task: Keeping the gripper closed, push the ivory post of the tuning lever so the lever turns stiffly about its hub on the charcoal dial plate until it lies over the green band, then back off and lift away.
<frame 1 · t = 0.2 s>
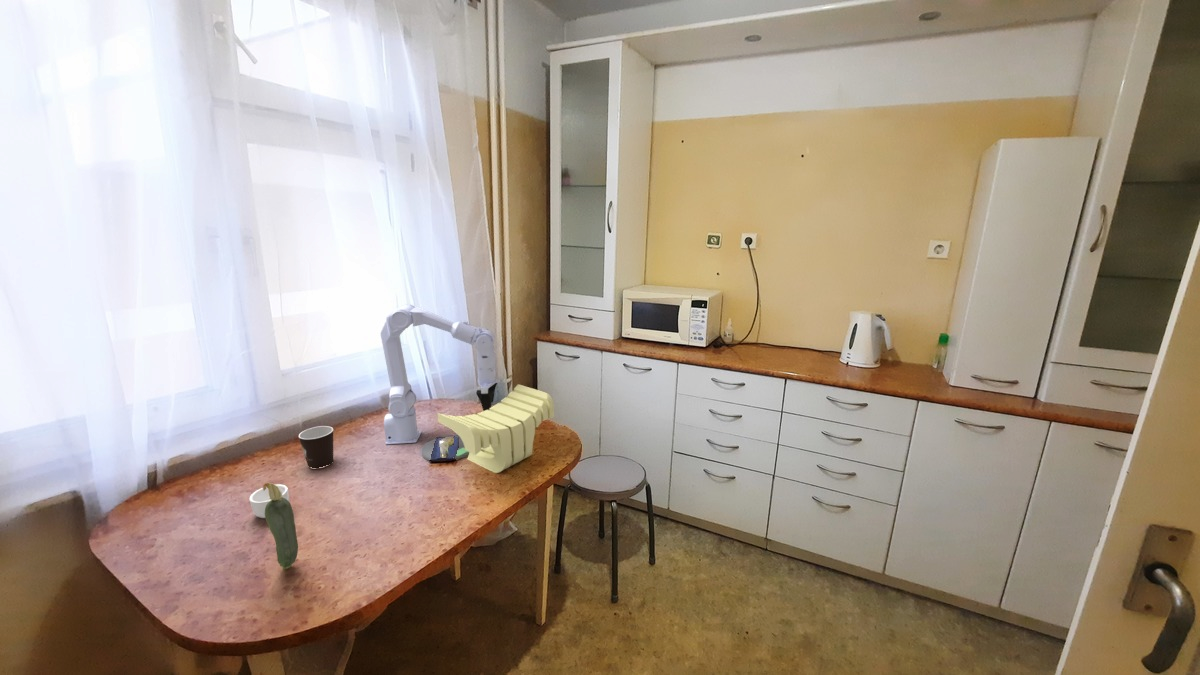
hand: (488, 406, 151), 10 cm above the table, tool pointing down, fingers open, 7 cm apart
slatted curved stool: (501, 459, 138), on the table
coffee mug: (322, 461, 136), on the table
dial plate: (448, 449, 143), on the table
teacup: (271, 511, 112), on the table
vegetable: (289, 570, 94), on the table
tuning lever: (446, 442, 139), point 4 cm above the table, hinge at 0.0°
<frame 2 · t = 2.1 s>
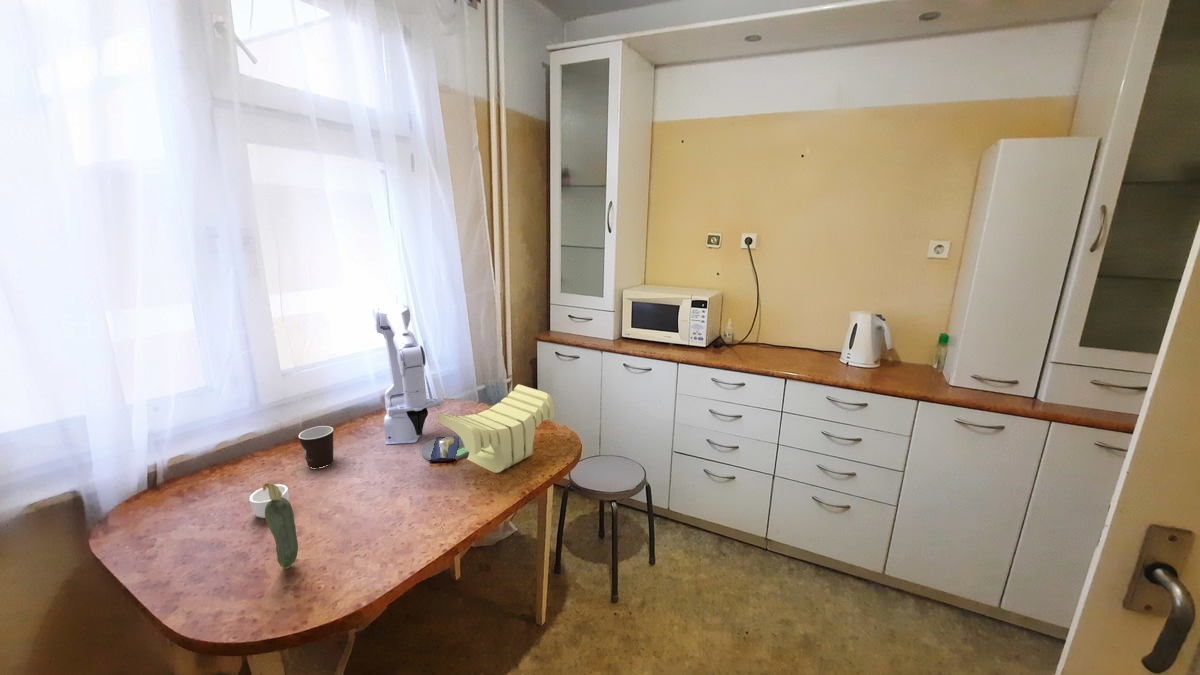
hand: (418, 433, 131), 10 cm above the table, tool pointing down, fingers closed
nothing on the table moved.
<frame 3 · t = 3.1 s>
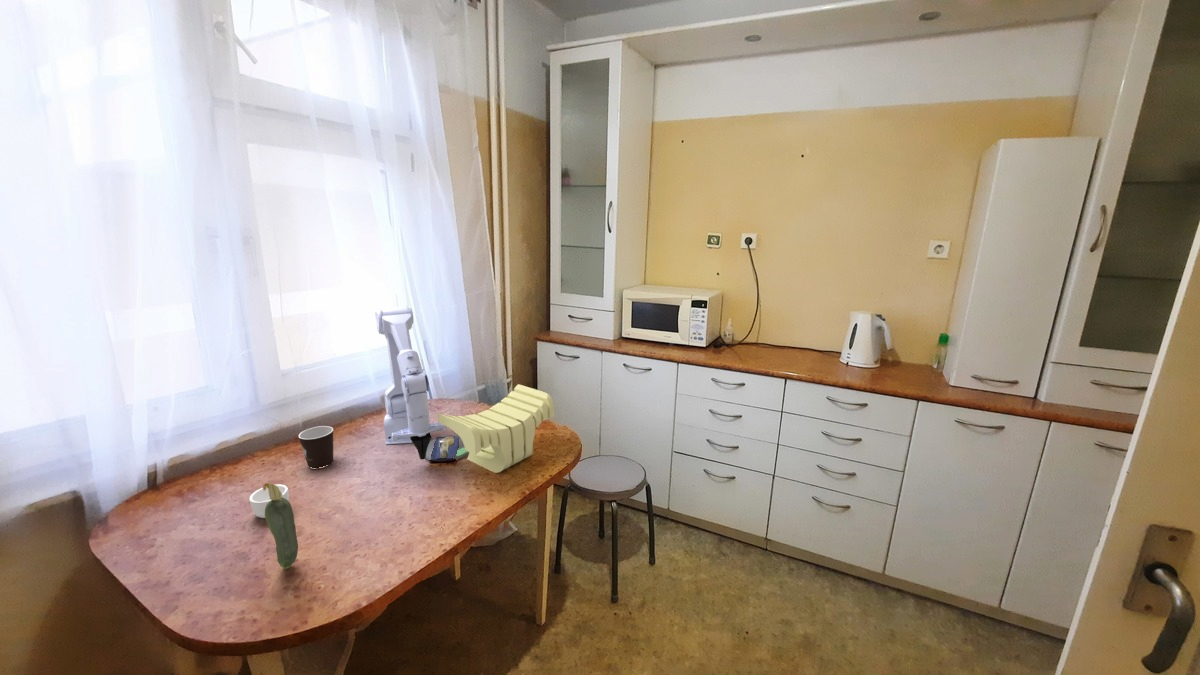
hand: (422, 457, 133), 3 cm above the table, tool pointing down, fingers closed
nothing on the table moved.
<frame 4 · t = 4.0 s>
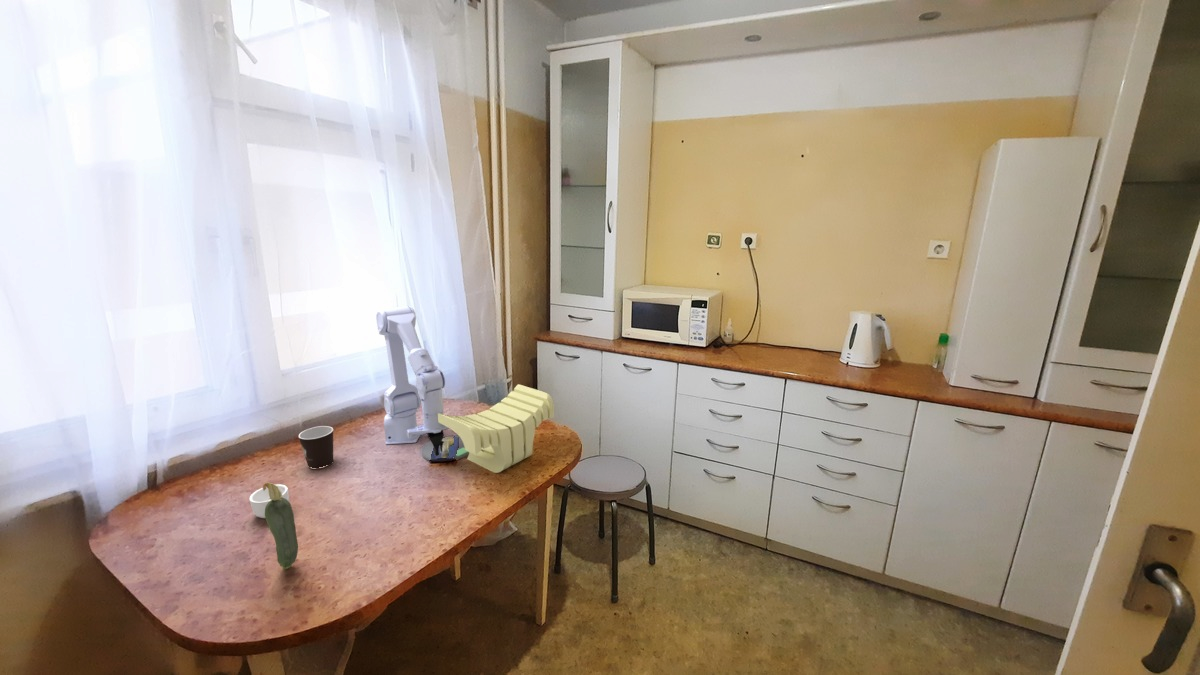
hand: (436, 454, 135), 3 cm above the table, tool pointing down, fingers closed, pressing on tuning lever
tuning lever: (446, 442, 139), point 4 cm above the table, hinge at 1.0°, touching gripper
everything else where it was.
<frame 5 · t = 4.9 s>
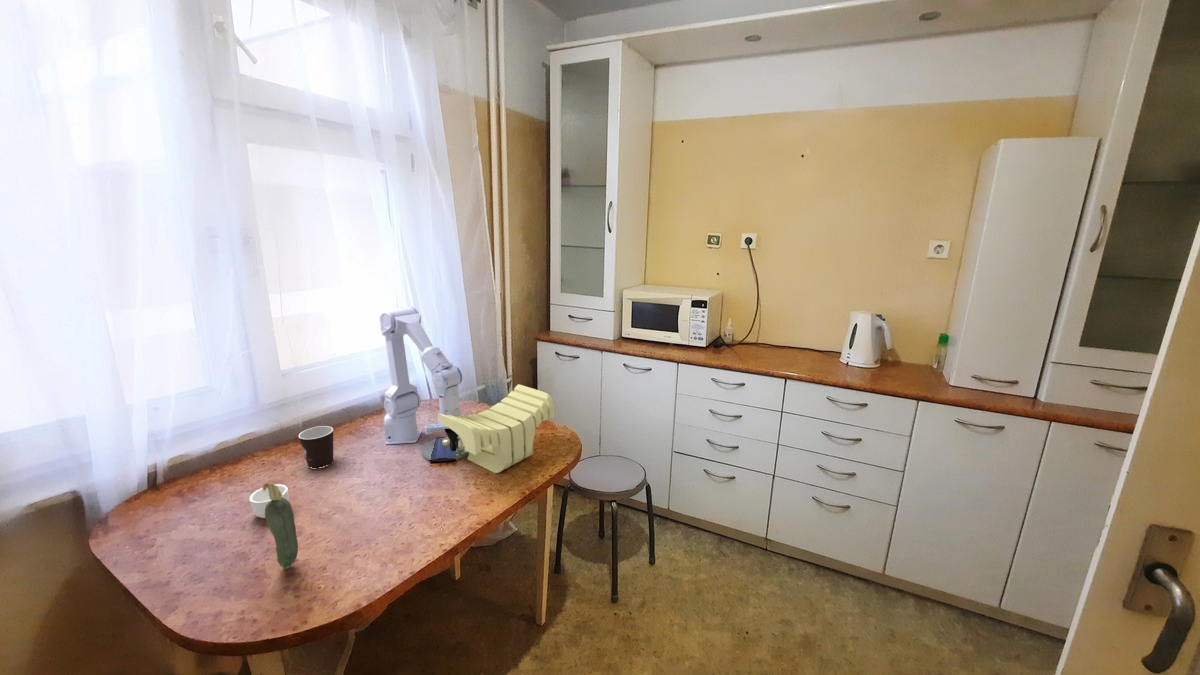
hand: (453, 450, 137), 3 cm above the table, tool pointing down, fingers closed
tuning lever: (453, 441, 140), point 4 cm above the table, hinge at 39.4°, touching gripper
everything else where it was.
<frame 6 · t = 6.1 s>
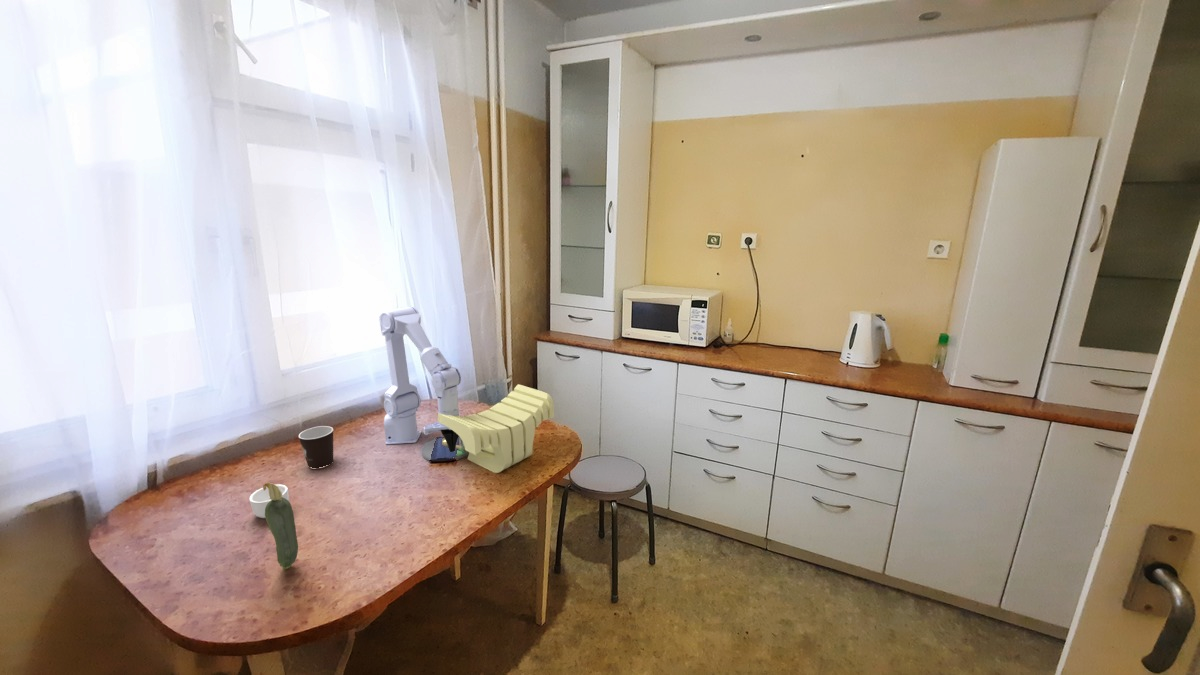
hand: (451, 450, 137), 3 cm above the table, tool pointing down, fingers closed
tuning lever: (455, 440, 141), point 4 cm above the table, hinge at 53.1°
everything else where it was.
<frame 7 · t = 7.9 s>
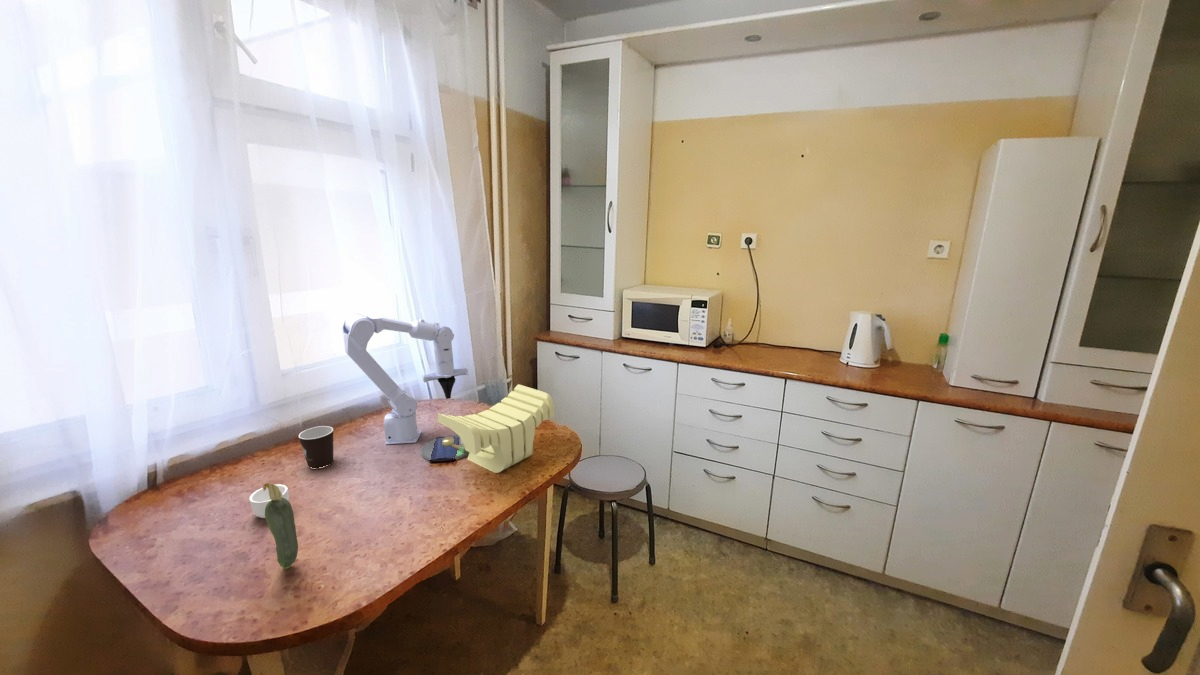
hand: (447, 397, 157), 10 cm above the table, tool pointing down, fingers closed
nothing on the table moved.
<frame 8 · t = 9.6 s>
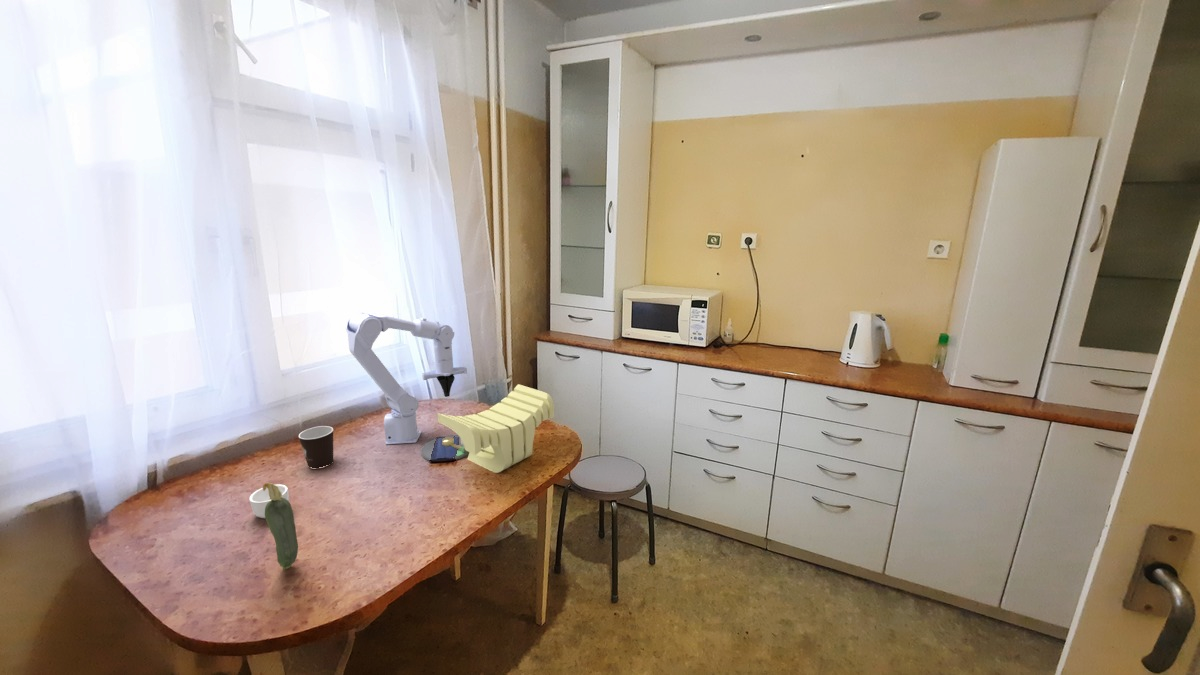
hand: (446, 395, 159), 10 cm above the table, tool pointing down, fingers closed
nothing on the table moved.
at the end: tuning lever at +53° (first picture: +0°) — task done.
